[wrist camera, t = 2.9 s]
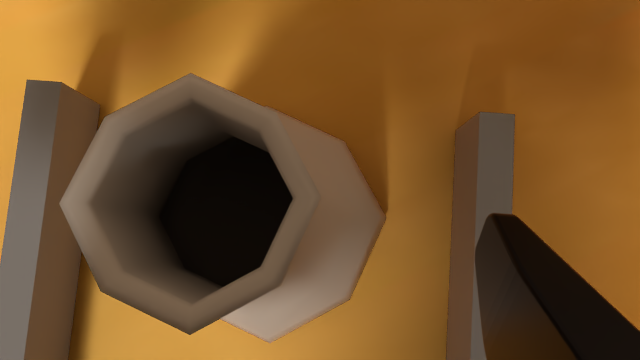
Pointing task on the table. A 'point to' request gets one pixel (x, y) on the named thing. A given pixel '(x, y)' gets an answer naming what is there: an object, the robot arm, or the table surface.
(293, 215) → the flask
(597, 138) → the table surface
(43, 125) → the trough
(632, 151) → the table surface
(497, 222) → the robot arm
